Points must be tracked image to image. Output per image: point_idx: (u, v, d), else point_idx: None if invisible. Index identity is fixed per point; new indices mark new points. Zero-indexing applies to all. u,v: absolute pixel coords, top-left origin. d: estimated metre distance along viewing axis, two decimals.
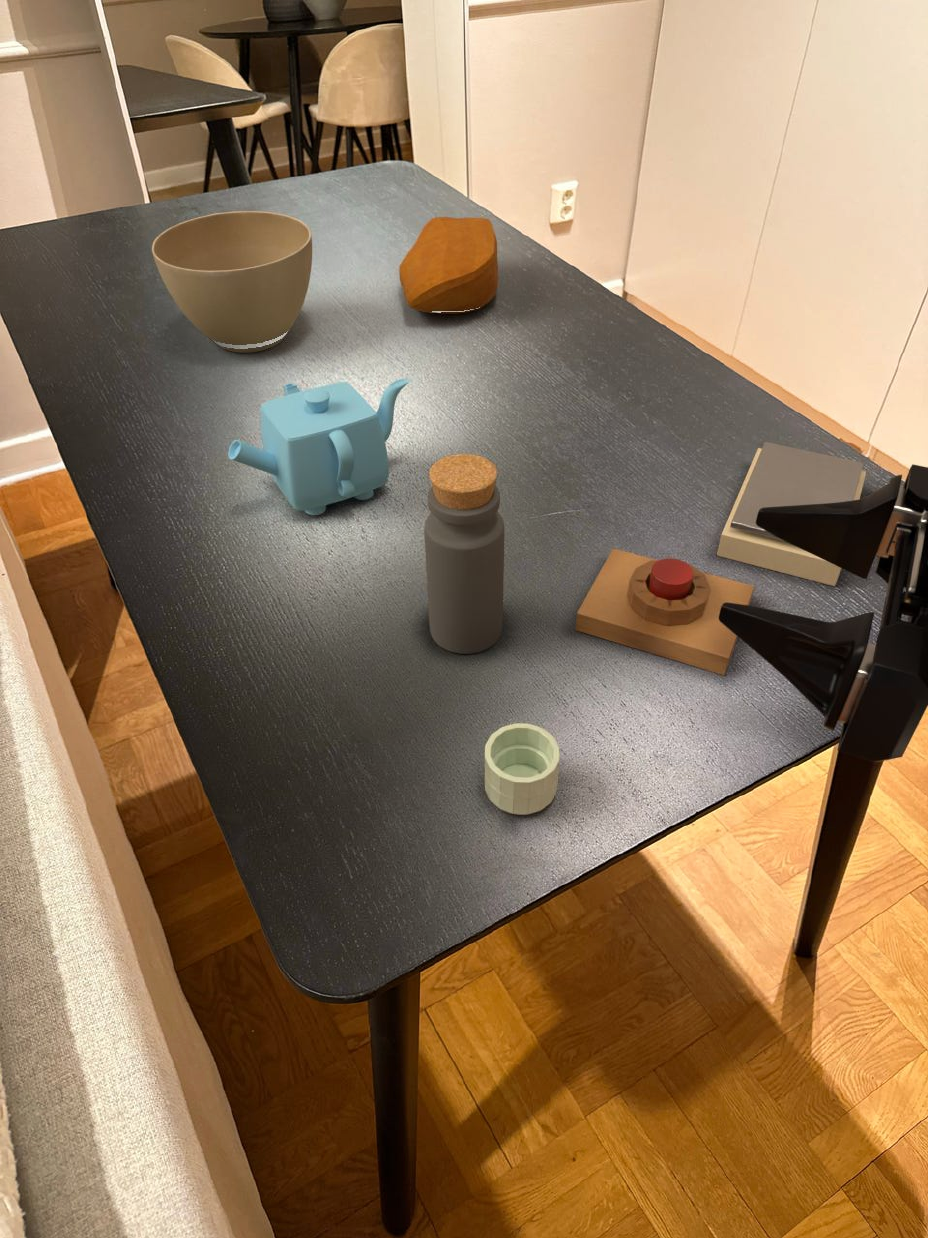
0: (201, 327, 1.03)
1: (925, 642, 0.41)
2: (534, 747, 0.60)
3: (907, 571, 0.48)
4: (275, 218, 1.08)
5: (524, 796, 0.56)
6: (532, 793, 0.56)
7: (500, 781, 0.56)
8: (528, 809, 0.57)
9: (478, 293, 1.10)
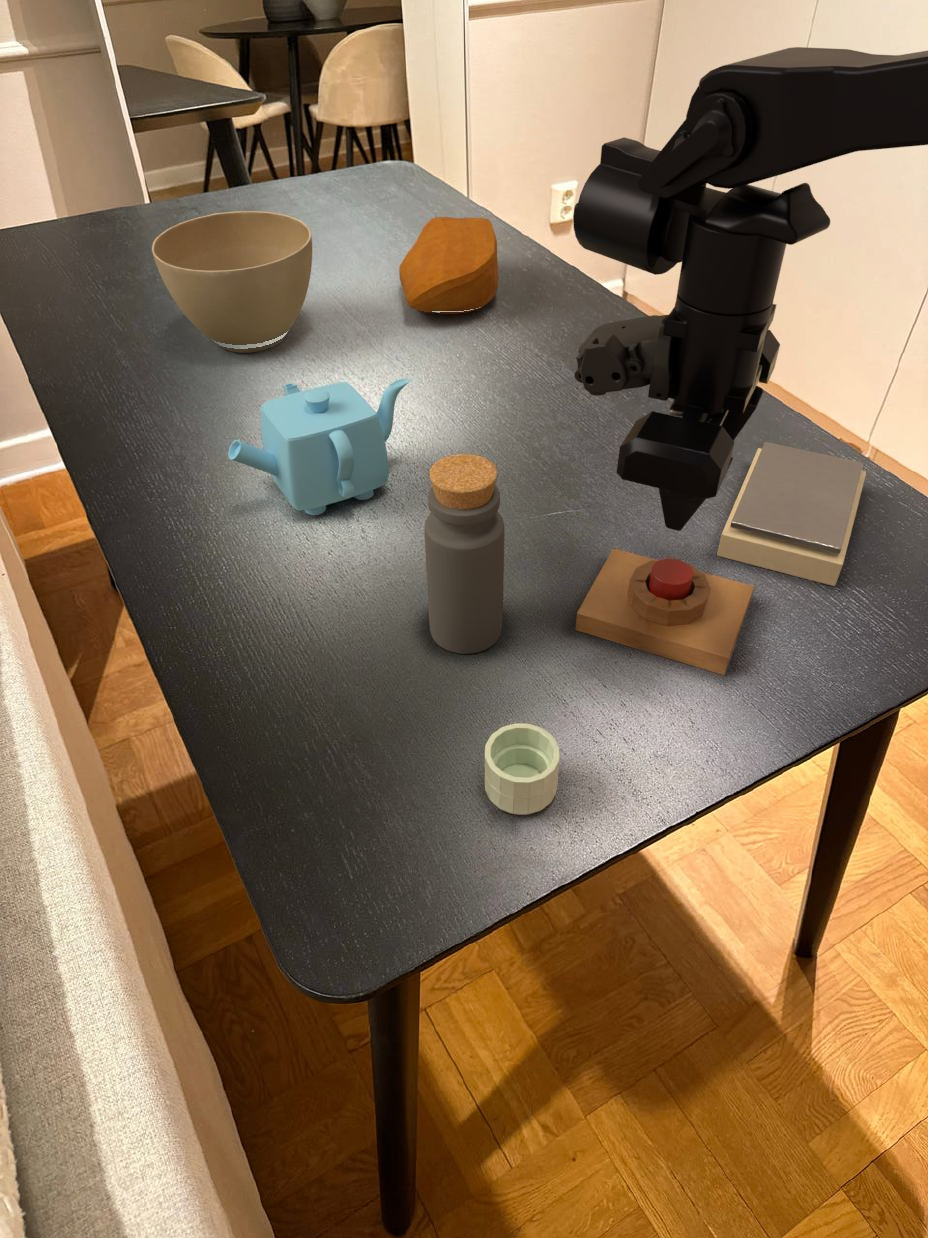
0: (201, 327, 1.03)
1: (635, 425, 0.55)
2: (534, 747, 0.60)
3: None
4: (275, 218, 1.08)
5: (524, 796, 0.56)
6: (532, 793, 0.56)
7: (500, 781, 0.56)
8: (528, 809, 0.57)
9: (478, 293, 1.10)
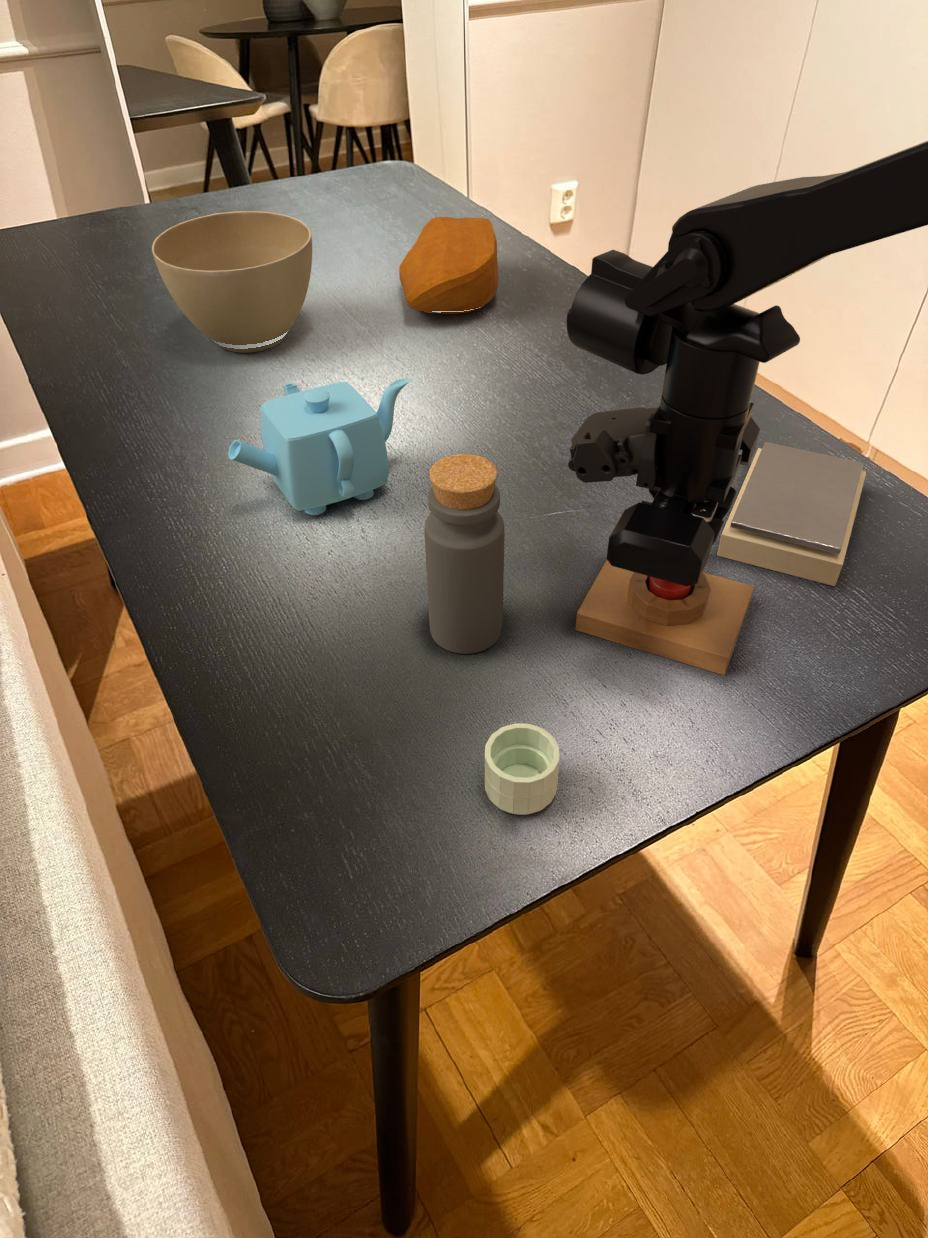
0: (201, 327, 1.03)
1: (623, 514, 0.60)
2: (534, 747, 0.60)
3: None
4: (275, 218, 1.08)
5: (524, 796, 0.56)
6: (532, 793, 0.56)
7: (500, 781, 0.56)
8: (528, 809, 0.57)
9: (478, 293, 1.10)
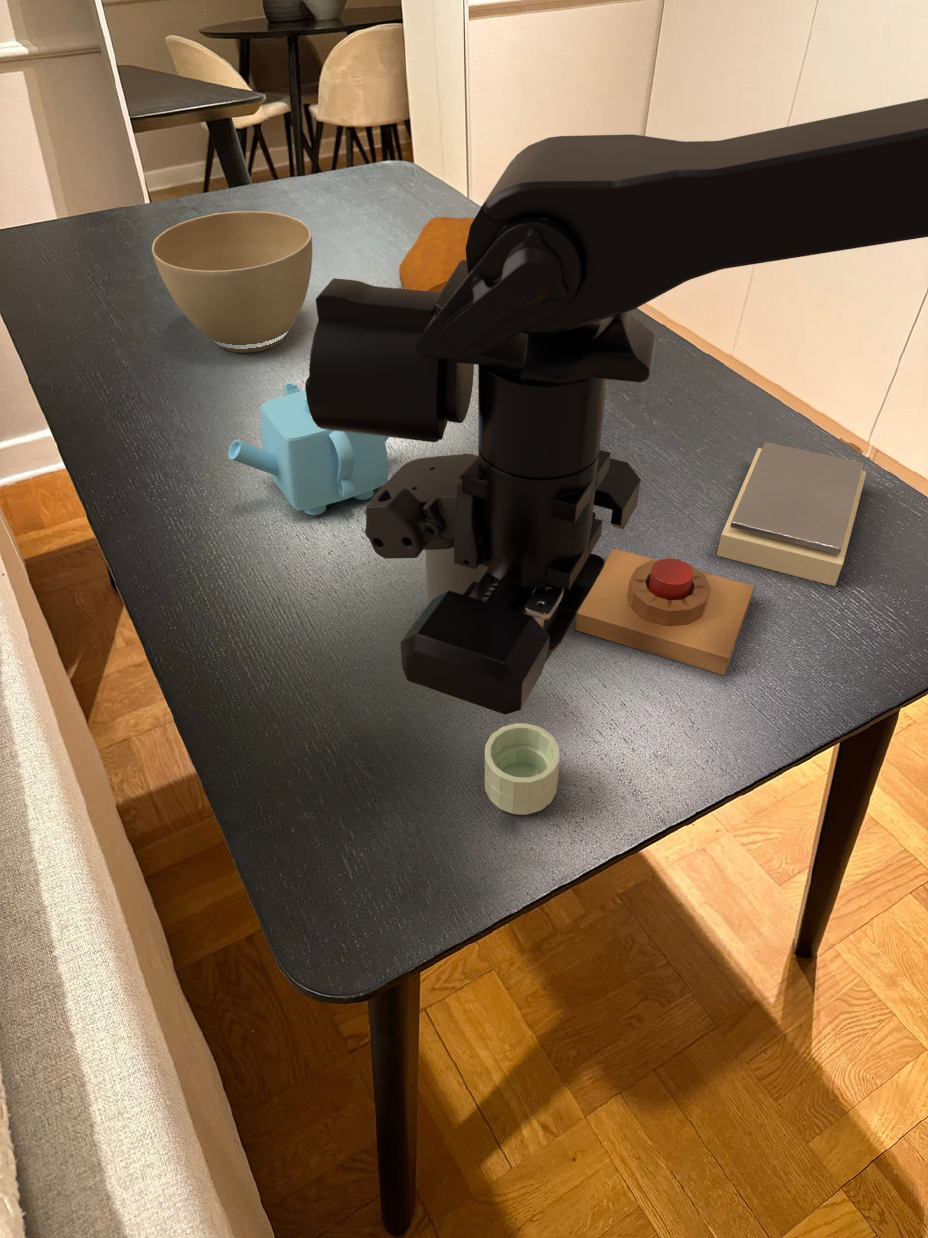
0: (201, 327, 1.03)
1: (428, 607, 0.43)
2: (534, 747, 0.60)
3: None
4: (275, 218, 1.08)
5: (524, 796, 0.56)
6: (532, 793, 0.56)
7: (500, 781, 0.56)
8: (528, 809, 0.57)
9: None
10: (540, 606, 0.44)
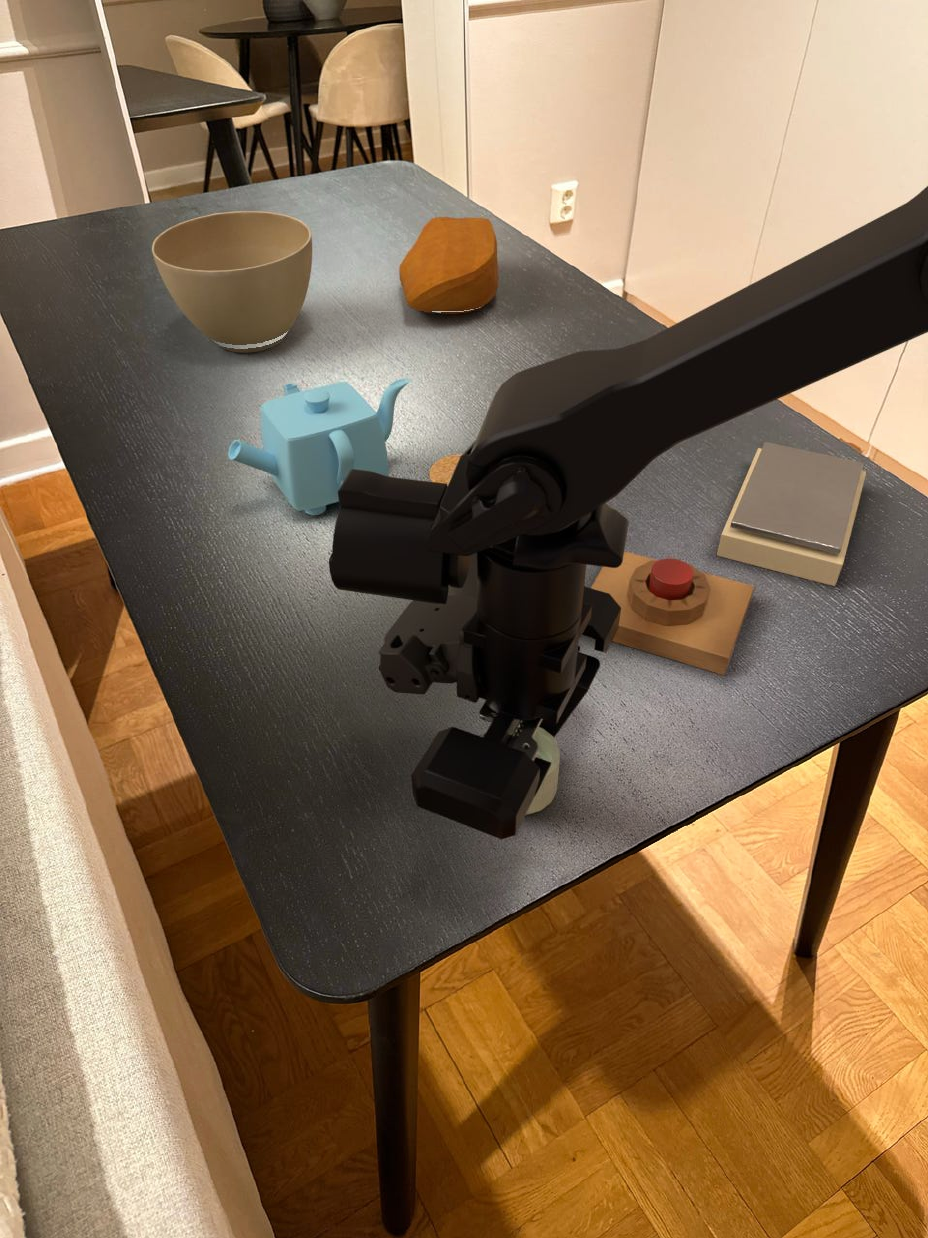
0: (201, 327, 1.03)
1: (434, 741, 0.50)
2: None
3: None
4: (275, 218, 1.08)
5: None
6: None
7: None
8: (528, 809, 0.57)
9: (478, 293, 1.10)
10: None
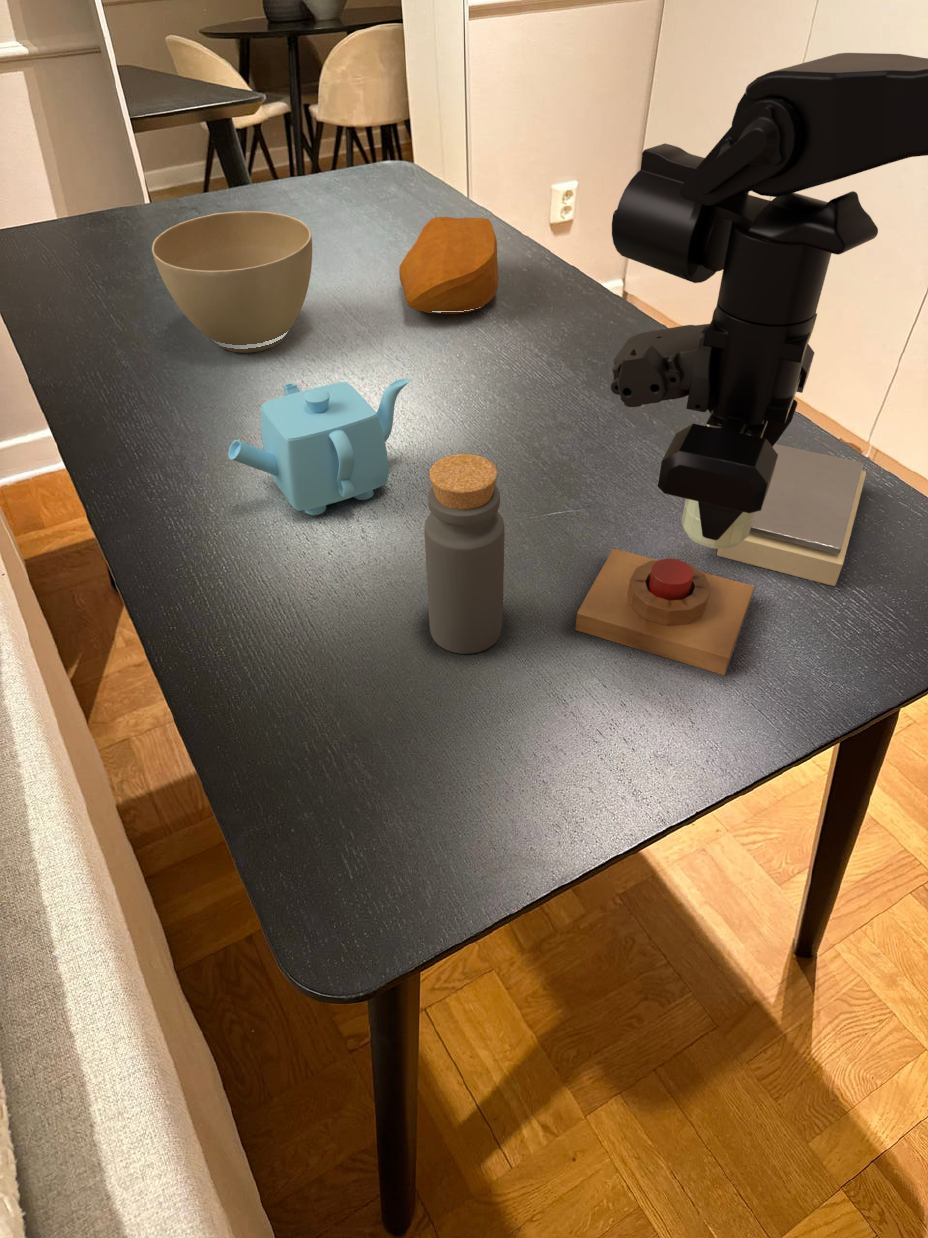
0: (201, 327, 1.03)
1: (675, 438, 0.54)
2: None
3: None
4: (275, 218, 1.08)
5: None
6: (737, 519, 0.61)
7: None
8: (730, 539, 0.62)
9: (478, 293, 1.10)
10: None
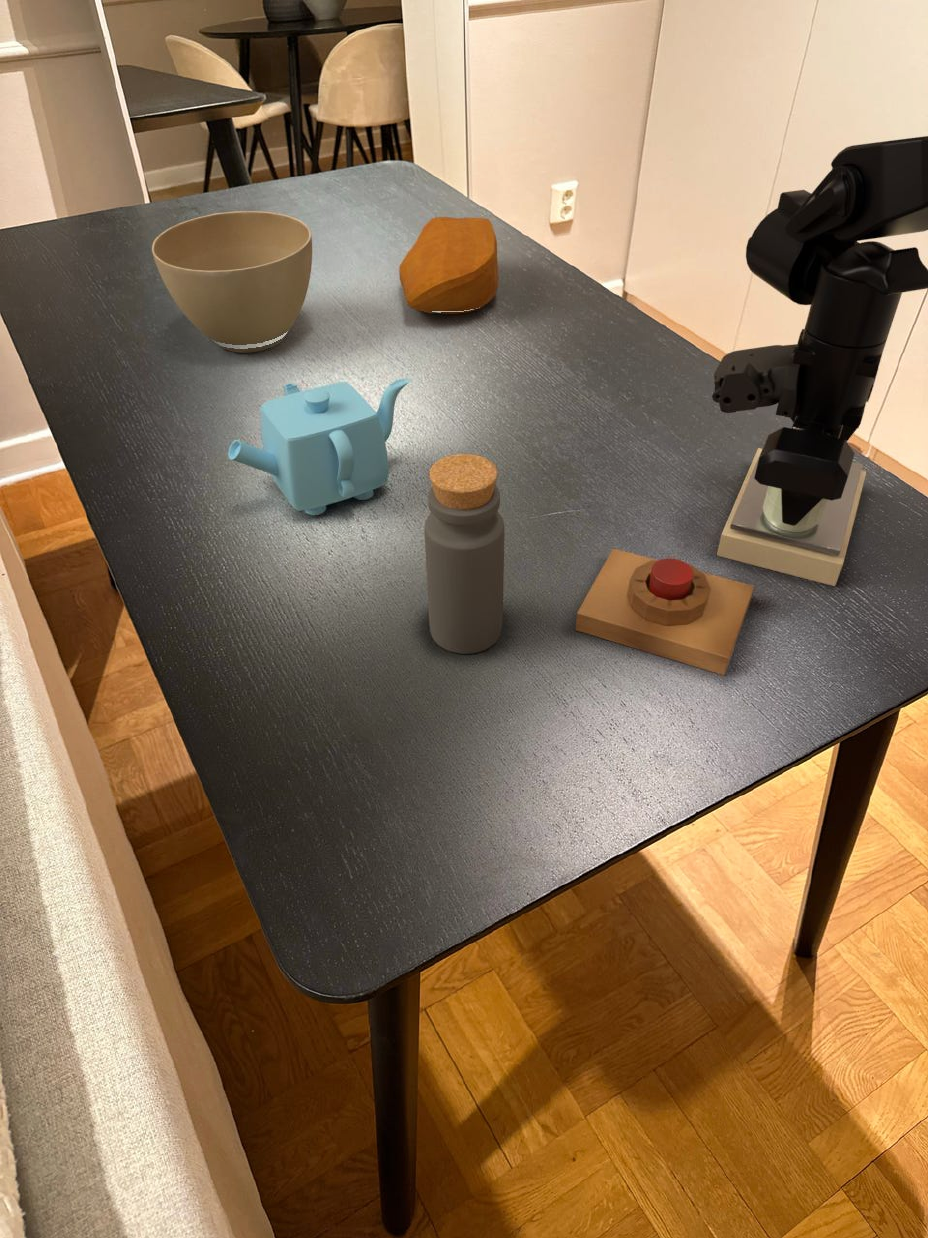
0: (201, 327, 1.03)
1: (768, 438, 0.66)
2: None
3: None
4: (275, 218, 1.08)
5: None
6: None
7: None
8: (805, 524, 0.74)
9: (478, 293, 1.10)
10: None
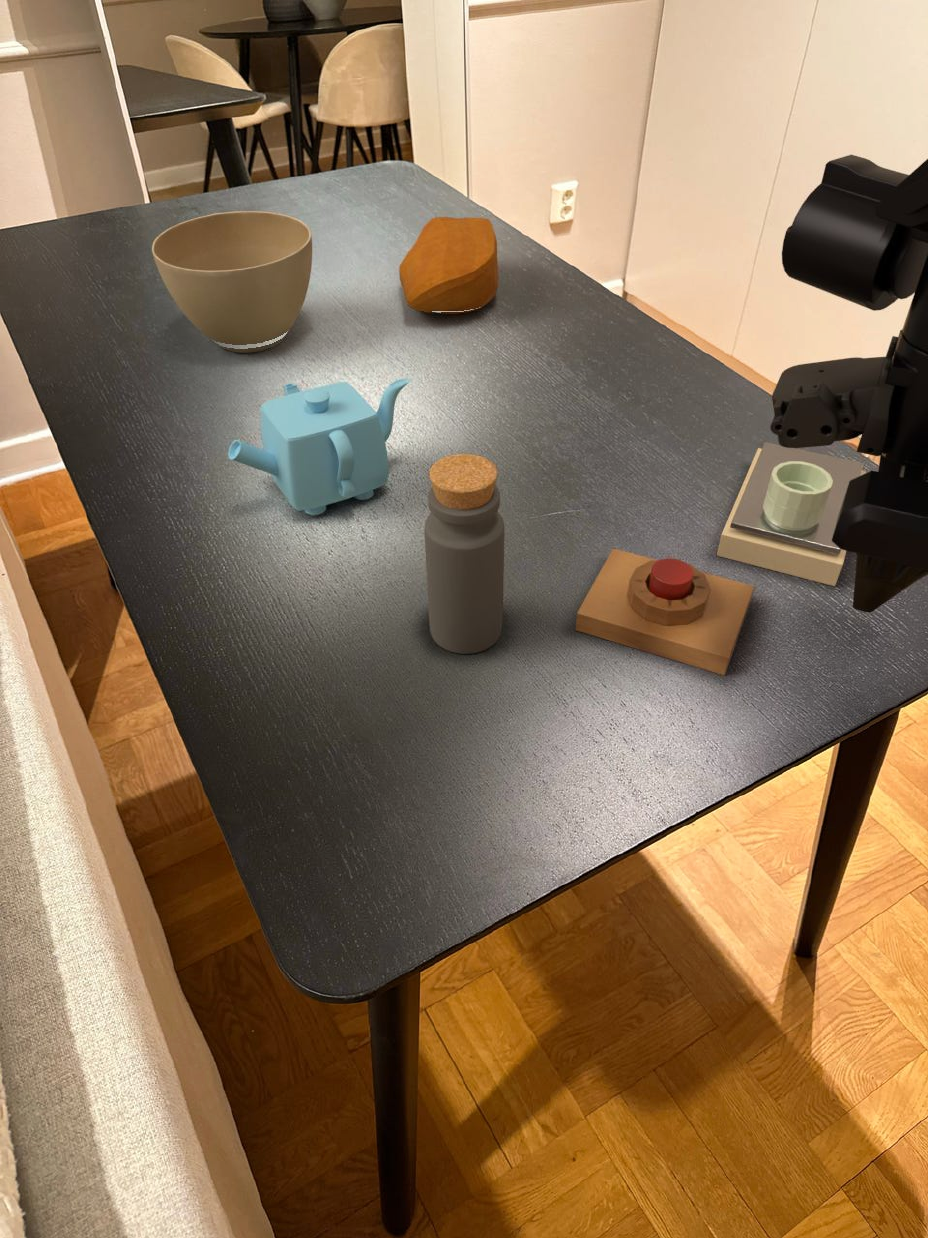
0: (201, 327, 1.03)
1: (851, 486, 0.48)
2: (802, 482, 0.76)
3: None
4: (275, 218, 1.08)
5: (806, 508, 0.73)
6: (813, 506, 0.72)
7: (789, 496, 0.72)
8: (806, 522, 0.74)
9: (478, 293, 1.10)
10: None
